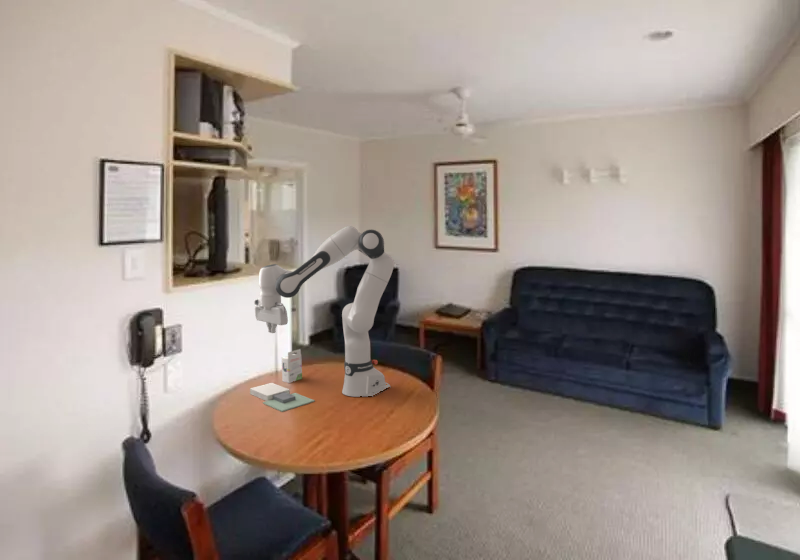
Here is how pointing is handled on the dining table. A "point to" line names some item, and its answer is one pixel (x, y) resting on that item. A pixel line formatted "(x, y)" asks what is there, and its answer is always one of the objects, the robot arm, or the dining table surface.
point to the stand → (268, 391)
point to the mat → (289, 403)
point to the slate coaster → (284, 397)
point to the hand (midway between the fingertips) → (272, 332)
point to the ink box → (292, 367)
